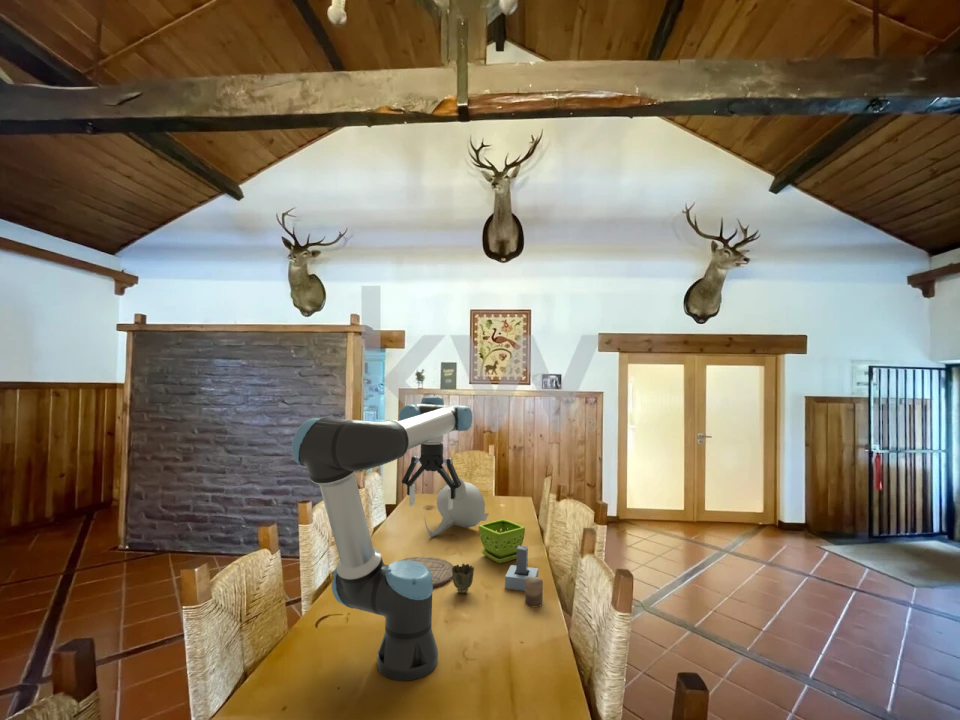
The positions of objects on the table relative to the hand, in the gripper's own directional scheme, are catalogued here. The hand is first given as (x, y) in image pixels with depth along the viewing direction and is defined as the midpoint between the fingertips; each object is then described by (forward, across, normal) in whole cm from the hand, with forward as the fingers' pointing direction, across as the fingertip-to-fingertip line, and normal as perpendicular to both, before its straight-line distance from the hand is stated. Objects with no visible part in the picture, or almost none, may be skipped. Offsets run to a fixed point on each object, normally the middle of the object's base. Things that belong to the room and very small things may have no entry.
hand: (430, 507), depth 153 cm
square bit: (+28, -28, -17) cm, 43 cm away
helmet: (+29, +10, -63) cm, 70 cm away
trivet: (+29, +9, -14) cm, 34 cm away
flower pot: (+29, -16, -38) cm, 50 cm away
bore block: (+29, -28, -17) cm, 43 cm away
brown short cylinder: (+29, -34, -5) cm, 45 cm away
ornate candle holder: (+29, -10, -5) cm, 31 cm away
